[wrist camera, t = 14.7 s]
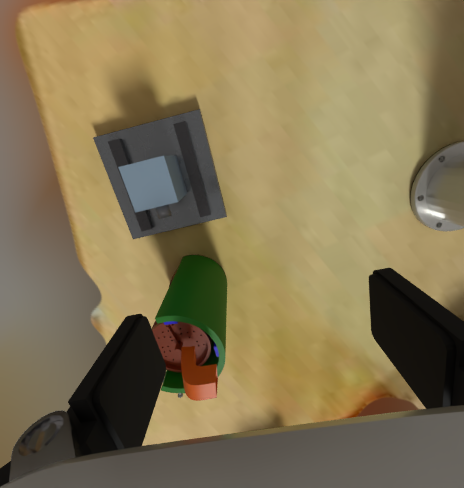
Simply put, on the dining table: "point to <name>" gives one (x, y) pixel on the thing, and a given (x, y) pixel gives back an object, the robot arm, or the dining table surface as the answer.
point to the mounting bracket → (191, 165)
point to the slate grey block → (154, 184)
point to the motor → (193, 328)
